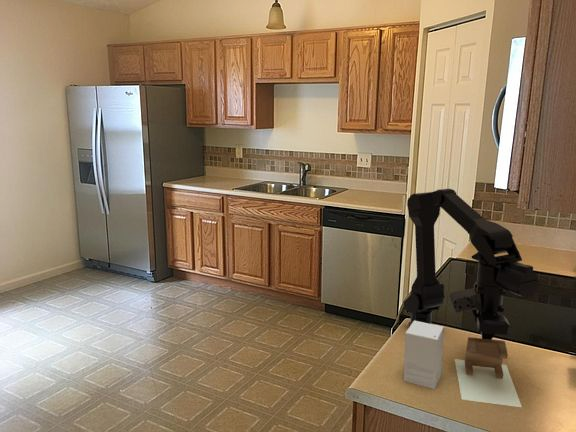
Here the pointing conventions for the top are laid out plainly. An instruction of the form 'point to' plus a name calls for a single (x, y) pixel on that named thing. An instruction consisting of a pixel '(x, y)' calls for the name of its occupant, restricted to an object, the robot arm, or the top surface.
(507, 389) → the mat
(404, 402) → the top surface
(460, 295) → the robot arm
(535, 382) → the top surface
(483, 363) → the footstool
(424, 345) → the supplement box
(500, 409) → the top surface
